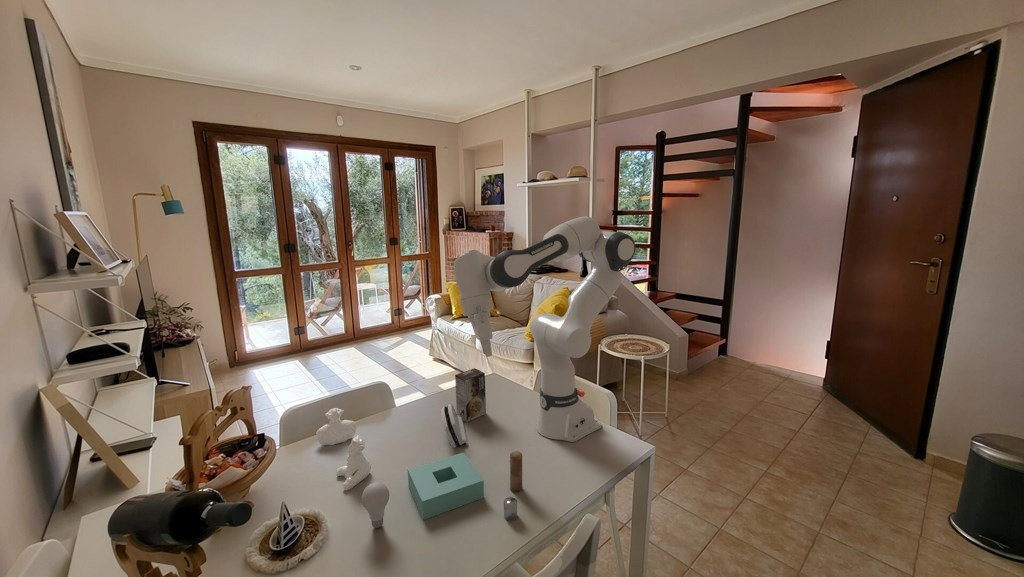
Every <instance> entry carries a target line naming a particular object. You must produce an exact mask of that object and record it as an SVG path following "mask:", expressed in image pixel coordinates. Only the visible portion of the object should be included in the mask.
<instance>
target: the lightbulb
mask: <svg viewBox="0 0 1024 577" xmlns="http://www.w3.org/2000/svg"><path fill="white" fill-rule="evenodd" d="M389 499H390V491H389V488H388V486H387V485H386V484H385V483H382V482H379V481H378V482H377V481H376V482H372V483H370V484H368V485H367V486H366V487H365V488H364V490H363V492H362V494H361V504H362V507H363V508H364V509H365V510H366V511H367V513H368V515H369V518H370V521H371V527H372V528H374V529H380V528H381V527H382V526H383V525H384V516H385V509H386V506H387V504H388V502H389Z"/></svg>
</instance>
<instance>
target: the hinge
mask: <svg viewBox="0 0 1024 577" xmlns="http://www.w3.org/2000/svg"><path fill="white" fill-rule="evenodd" d="M440 413H441V419H442V423H443V424H442V425H443V427H444V432H445V433H446V435H447V438H448V440H449V443H450V444H451V447H452V448H453V449H455V448H457V446H458V445H459V446H462V445H463V444H466V446H469V443H468V442H469V441H468V437H467V436H468V435H467V432H466V428H465V422H464V420H463V419H462V417H461V416H457V410H456V409H455V408H454V405H453V403H449V404H447V406H445V405H444V406H443V407H442V408H441V410H440Z"/></svg>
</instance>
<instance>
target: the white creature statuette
mask: <svg viewBox="0 0 1024 577" xmlns="http://www.w3.org/2000/svg"><path fill="white" fill-rule="evenodd" d="M365 447H366V446H365V440H364V439H363V438H362V437H361V436H360V435H359V434H358V435H356V436H353V437H352V438H351V442H350V444H349V445H348V448H347V453H348V456H347V459H346V461H347V465H342V466H340V467H338V468H337V469H336V477H339V476H340V477H344V478H345V481H344V482H343V484H342V488H343V490H344V491H345V492H347V491H349V490H352V489H353V488H354V487H355V486H356V485H358V484H359V483H360V482H362V481H363V480H364V479H366V478H367V477H368V476H369V475H370V472H371V470H372V464H371V462H370V461H369V459H367V458H366V456H365V454H364V452H363V450H365Z"/></svg>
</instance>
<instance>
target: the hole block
mask: <svg viewBox="0 0 1024 577" xmlns="http://www.w3.org/2000/svg"><path fill="white" fill-rule="evenodd" d="M407 481H408V488H409V490H410V492H411V495H412V497H413V499H414V501H415V505H416V506H417V509H418V511H419V513H420V516H421V518H422V520H424V521H425V520H426V519H429V518H432V517H436V516H438V515H441V514H443V513H445V512H449V511H451V510H454V509H457V508H459V507H462V506H465V505H467V504H471V503H473V502H476V501H479V500H482V499H484V498H485V488H484V487H485V486H484V485H485V484H484V479H483V478H482V475H481V474H480V473H479V472H478V471H477V469H476V467H475V466H474V465H473V463H472V462H471V461H470V459H469V458H468V456H466V454H465V453H464V452H461V453H457V454H454V455H451V456H448V457H444V458H441V459H437V460H434V461H431V462H427V463H424V464H421V465H417V466H414V467H411V468H408V469H407Z"/></svg>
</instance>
